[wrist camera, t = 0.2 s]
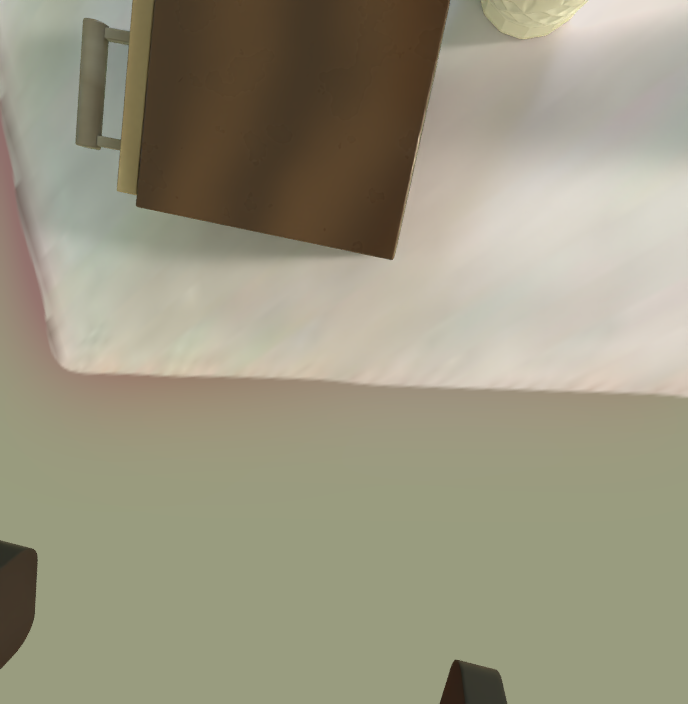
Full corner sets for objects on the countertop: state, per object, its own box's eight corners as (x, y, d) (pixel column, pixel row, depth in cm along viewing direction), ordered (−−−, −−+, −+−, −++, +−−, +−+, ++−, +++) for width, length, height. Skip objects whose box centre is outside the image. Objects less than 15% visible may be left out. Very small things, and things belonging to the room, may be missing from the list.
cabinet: (202, 215, 37) (135, 206, 27) (226, 27, 34) (159, -54, 24) (394, 255, 36) (393, 260, 26) (436, 65, 33) (451, -4, 23)
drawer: (117, 189, 36) (42, 175, 28) (132, 15, 33) (53, -51, 26) (357, 239, 35) (346, 238, 27) (393, 63, 32) (391, 9, 25)
